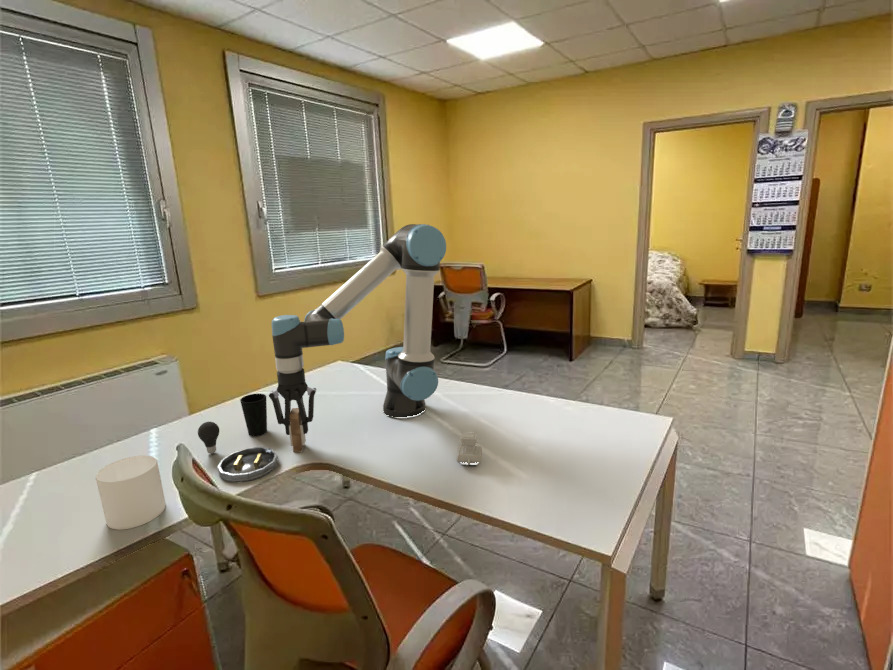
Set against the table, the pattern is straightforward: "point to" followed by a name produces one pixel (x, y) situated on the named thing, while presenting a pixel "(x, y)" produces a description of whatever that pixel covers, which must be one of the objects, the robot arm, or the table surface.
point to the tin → (247, 464)
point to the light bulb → (209, 435)
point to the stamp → (469, 449)
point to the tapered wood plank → (296, 429)
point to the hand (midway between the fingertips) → (298, 443)
